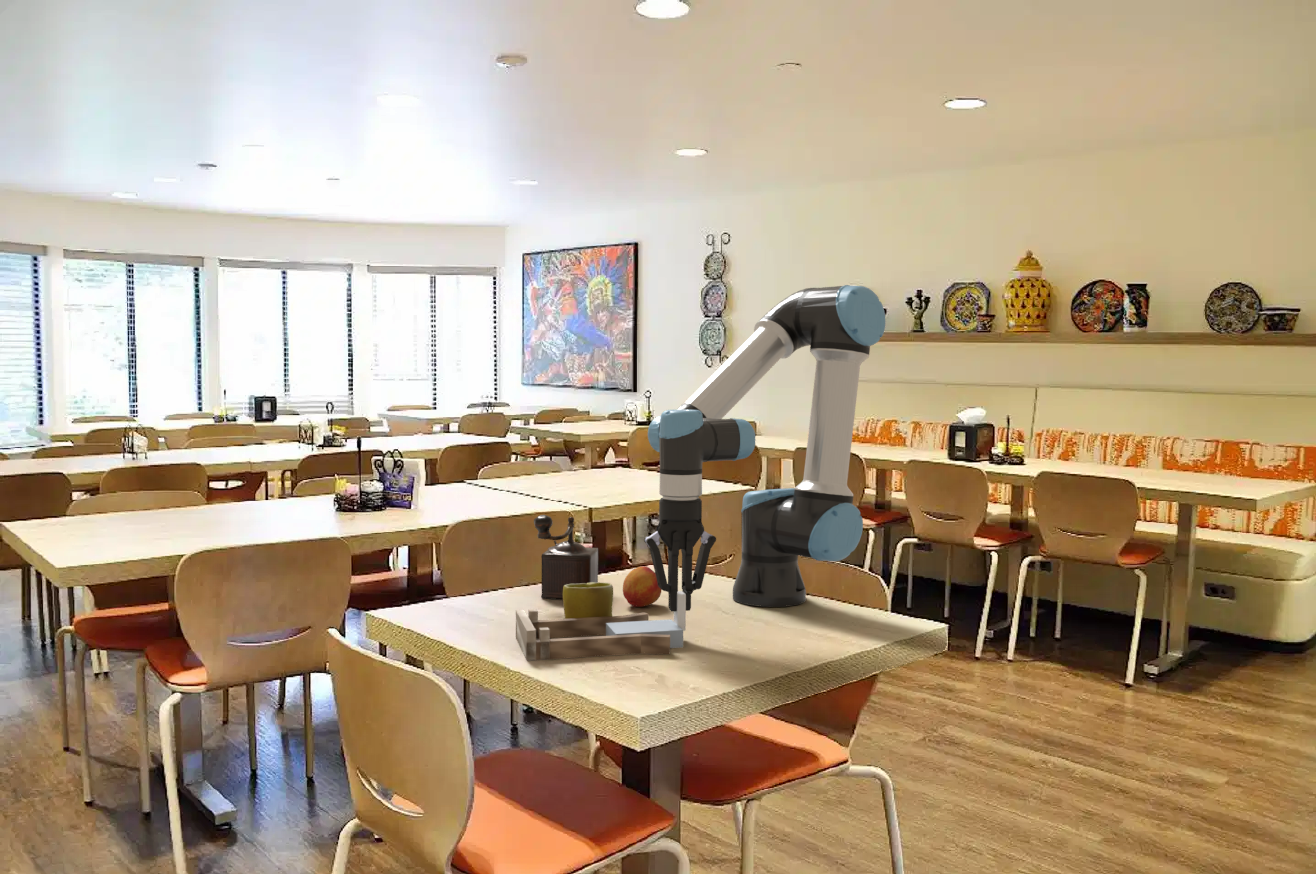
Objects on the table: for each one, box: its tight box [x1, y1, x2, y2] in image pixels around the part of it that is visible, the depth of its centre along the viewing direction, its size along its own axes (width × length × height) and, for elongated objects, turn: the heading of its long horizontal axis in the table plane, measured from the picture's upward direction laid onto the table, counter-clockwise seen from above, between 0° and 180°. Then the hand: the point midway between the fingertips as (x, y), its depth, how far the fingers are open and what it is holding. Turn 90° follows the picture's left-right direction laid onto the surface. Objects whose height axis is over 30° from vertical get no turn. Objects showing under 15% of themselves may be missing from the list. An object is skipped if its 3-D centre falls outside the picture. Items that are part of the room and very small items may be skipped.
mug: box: [562, 581, 614, 619], centre depth 204 cm, size 12×10×10 cm
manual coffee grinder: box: [533, 514, 599, 601], centre depth 228 cm, size 16×11×18 cm
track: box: [515, 608, 671, 661], centre depth 191 cm, size 24×18×5 cm
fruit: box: [622, 565, 662, 608], centre depth 221 cm, size 8×8×8 cm
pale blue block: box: [605, 618, 684, 649], centre depth 192 cm, size 12×8×4 cm, turn 105°
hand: (679, 628), depth 195 cm, fingers closed
